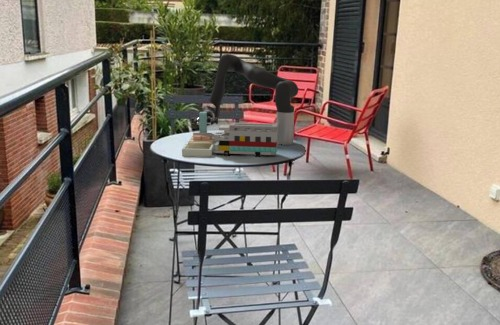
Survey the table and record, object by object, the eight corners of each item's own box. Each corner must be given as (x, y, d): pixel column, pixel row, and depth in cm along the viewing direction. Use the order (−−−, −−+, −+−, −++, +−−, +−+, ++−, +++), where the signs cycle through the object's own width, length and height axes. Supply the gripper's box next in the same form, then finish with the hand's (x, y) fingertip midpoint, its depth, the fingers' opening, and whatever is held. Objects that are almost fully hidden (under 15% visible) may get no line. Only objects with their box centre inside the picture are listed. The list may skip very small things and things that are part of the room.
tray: (185, 150, 247) (185, 144, 246) (213, 151, 247) (213, 144, 246) (182, 155, 237) (181, 149, 236) (211, 156, 236) (211, 149, 235)
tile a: (202, 138, 256) (202, 135, 255) (210, 139, 255) (210, 135, 255) (201, 140, 252) (201, 136, 251) (209, 140, 252) (209, 136, 251)
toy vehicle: (215, 151, 246) (215, 121, 242) (276, 153, 243) (277, 123, 240) (213, 155, 238) (212, 124, 235) (275, 157, 236) (276, 126, 232)
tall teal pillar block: (194, 136, 262) (193, 111, 258) (213, 136, 261) (213, 112, 258) (193, 138, 257) (192, 113, 254) (212, 138, 257) (212, 113, 254)
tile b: (194, 138, 256) (194, 134, 255) (201, 138, 256) (201, 135, 255) (193, 140, 252) (192, 136, 251) (200, 140, 252) (200, 136, 251)
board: (193, 142, 265) (193, 135, 264) (215, 143, 265) (215, 135, 264) (187, 150, 248) (187, 142, 247) (211, 150, 247) (211, 143, 246)
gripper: (194, 110, 274) (189, 115, 258) (219, 111, 273) (216, 116, 258) (194, 124, 276) (190, 129, 260) (220, 124, 275) (216, 130, 259)
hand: (203, 122), depth 259 cm, fingers open, 8 cm apart
